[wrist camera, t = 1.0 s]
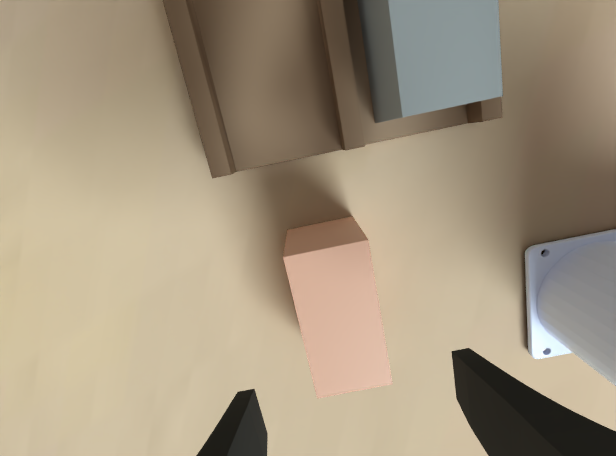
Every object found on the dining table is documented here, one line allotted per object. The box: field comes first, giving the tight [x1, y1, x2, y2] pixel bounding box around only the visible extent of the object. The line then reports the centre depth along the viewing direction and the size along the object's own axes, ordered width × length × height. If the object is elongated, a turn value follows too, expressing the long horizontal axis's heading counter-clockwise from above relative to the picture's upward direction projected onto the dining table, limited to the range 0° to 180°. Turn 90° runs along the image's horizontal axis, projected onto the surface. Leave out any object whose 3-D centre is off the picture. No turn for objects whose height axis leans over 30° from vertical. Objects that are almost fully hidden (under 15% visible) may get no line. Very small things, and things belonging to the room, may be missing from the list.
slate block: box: [357, 0, 503, 123], centre depth 15 cm, size 4×8×5 cm, turn 12°
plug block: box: [283, 216, 393, 398], centre depth 19 cm, size 4×8×5 cm, turn 12°
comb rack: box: [163, 0, 502, 178], centre depth 17 cm, size 15×10×2 cm, turn 102°
